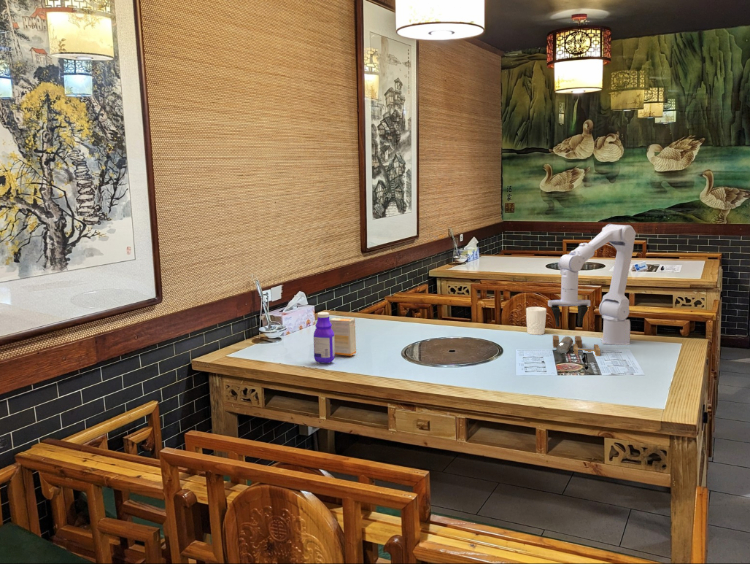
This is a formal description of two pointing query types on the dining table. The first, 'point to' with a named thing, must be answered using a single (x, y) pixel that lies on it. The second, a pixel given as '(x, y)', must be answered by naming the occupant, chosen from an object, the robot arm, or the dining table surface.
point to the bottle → (324, 339)
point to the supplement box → (344, 335)
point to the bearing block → (577, 341)
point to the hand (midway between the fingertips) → (568, 325)
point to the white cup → (535, 320)
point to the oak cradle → (596, 349)
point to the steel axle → (564, 345)
